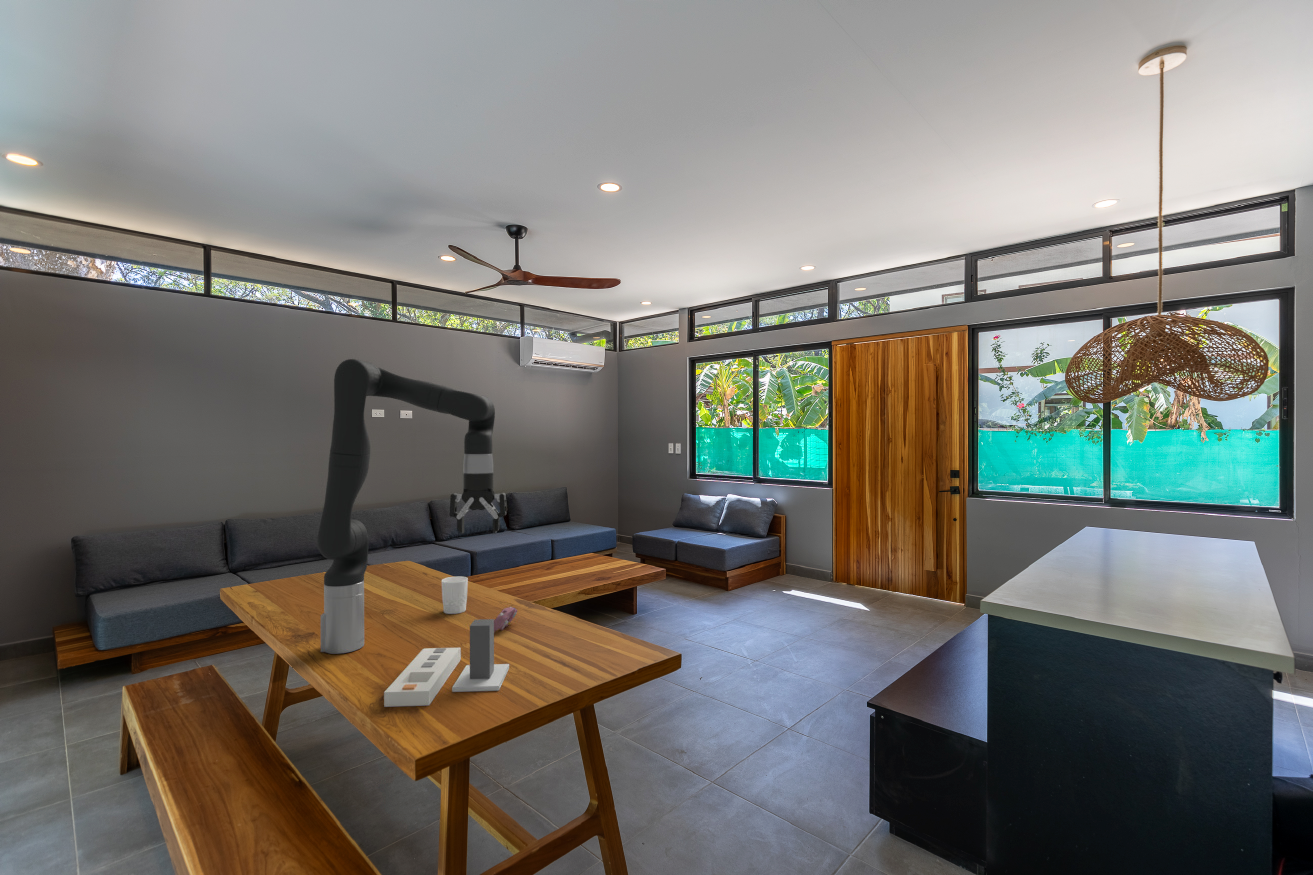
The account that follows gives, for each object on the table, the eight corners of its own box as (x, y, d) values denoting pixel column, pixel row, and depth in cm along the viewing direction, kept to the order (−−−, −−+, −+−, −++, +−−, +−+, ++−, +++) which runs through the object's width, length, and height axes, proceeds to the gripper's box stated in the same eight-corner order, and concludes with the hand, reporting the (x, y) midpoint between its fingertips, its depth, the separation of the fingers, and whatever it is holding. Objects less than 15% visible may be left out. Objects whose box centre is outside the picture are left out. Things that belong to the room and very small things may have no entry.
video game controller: (497, 639, 161) (508, 617, 161) (484, 631, 162) (494, 609, 161) (512, 627, 171) (522, 607, 170) (499, 620, 172) (509, 599, 171)
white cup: (452, 616, 176) (452, 583, 176) (436, 612, 181) (436, 580, 181) (473, 609, 183) (473, 578, 183) (456, 605, 187) (456, 575, 187)
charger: (469, 679, 129) (469, 625, 129) (474, 670, 134) (474, 619, 133) (489, 678, 129) (489, 625, 129) (493, 670, 134) (493, 619, 134)
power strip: (384, 706, 118) (384, 690, 118) (423, 660, 142) (423, 646, 142) (429, 705, 119) (429, 688, 119) (460, 659, 143) (460, 645, 143)
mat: (452, 691, 125) (452, 687, 125) (466, 669, 137) (466, 664, 137) (498, 690, 126) (498, 685, 126) (509, 668, 138) (509, 663, 138)
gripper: (446, 472, 146) (446, 535, 147) (503, 472, 147) (503, 535, 147) (454, 470, 154) (454, 530, 154) (508, 470, 155) (508, 530, 155)
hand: (478, 532), depth 151 cm, fingers open, 8 cm apart
